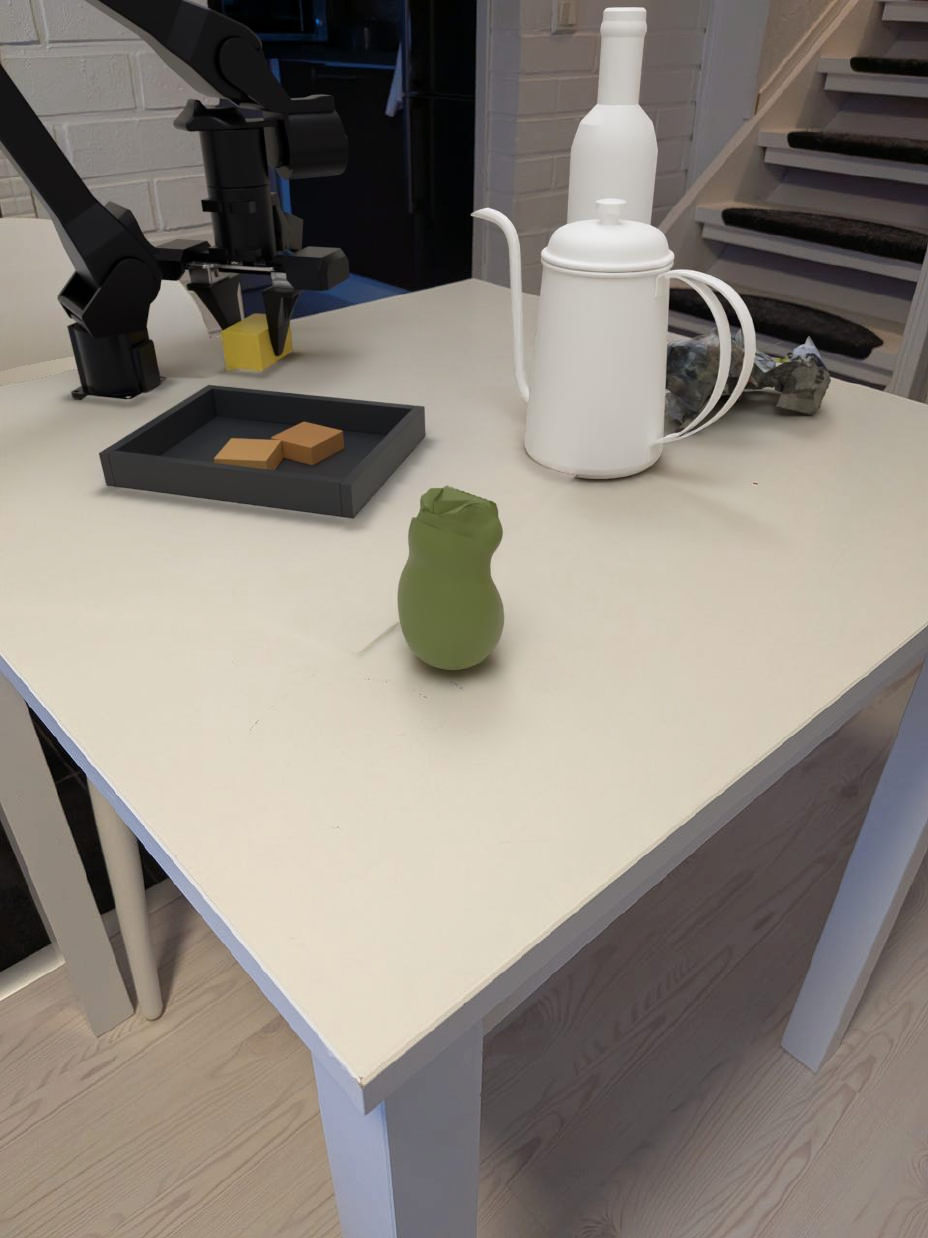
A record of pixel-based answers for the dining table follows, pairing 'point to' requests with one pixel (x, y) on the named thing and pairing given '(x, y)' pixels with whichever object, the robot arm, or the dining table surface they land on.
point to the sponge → (251, 344)
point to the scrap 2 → (310, 442)
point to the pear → (451, 580)
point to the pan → (205, 422)
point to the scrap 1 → (251, 453)
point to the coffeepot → (607, 344)
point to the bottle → (615, 128)
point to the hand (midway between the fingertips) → (259, 353)
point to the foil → (698, 371)
